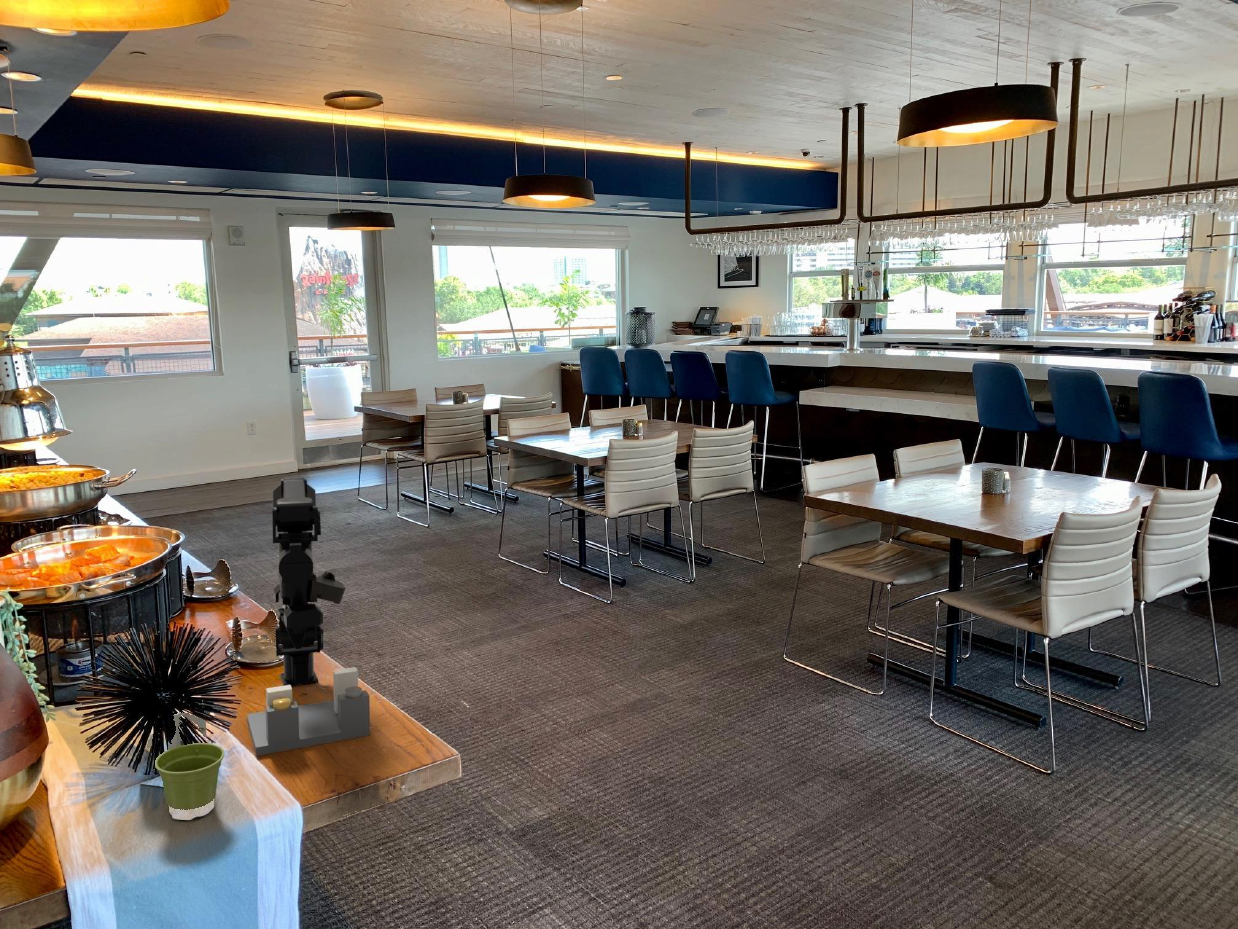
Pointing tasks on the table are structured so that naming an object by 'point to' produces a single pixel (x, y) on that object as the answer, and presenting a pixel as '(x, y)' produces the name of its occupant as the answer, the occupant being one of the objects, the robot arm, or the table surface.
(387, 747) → the table surface
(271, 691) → the tall white block
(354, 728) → the grey holder stand
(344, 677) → the cream upright block
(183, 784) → the plant pot
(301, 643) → the robot arm
